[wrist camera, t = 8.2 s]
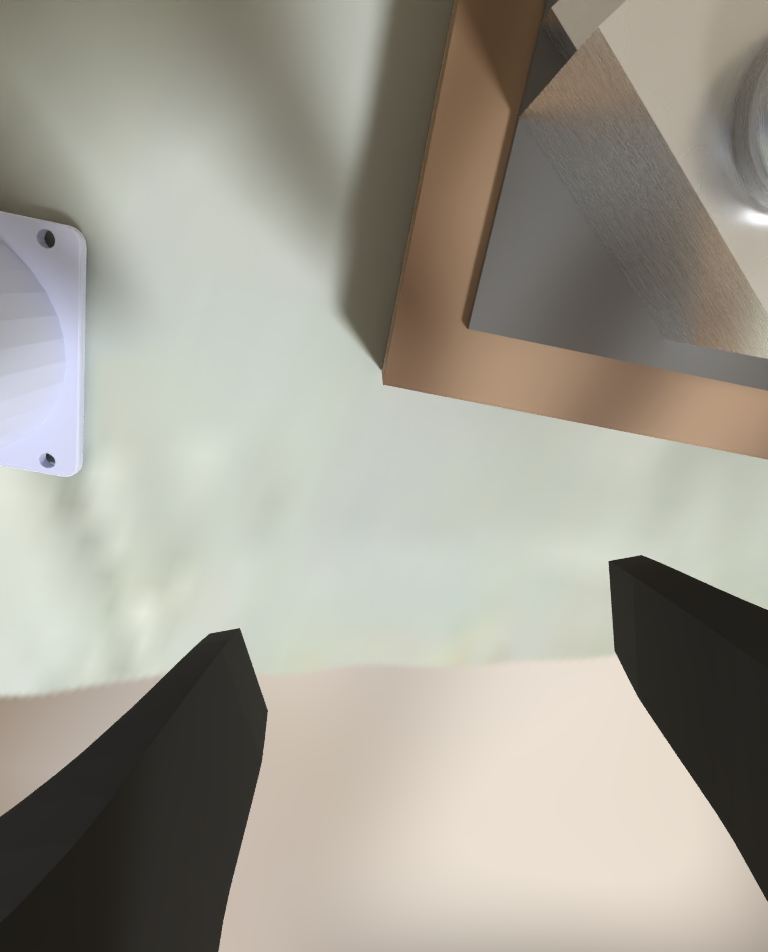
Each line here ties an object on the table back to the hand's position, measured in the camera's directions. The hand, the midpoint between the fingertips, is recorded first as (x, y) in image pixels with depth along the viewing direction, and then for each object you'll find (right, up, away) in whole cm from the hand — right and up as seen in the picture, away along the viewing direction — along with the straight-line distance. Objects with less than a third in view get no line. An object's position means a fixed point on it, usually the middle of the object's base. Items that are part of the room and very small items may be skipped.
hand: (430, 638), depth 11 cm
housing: (+6, +11, +3) cm, 13 cm away
